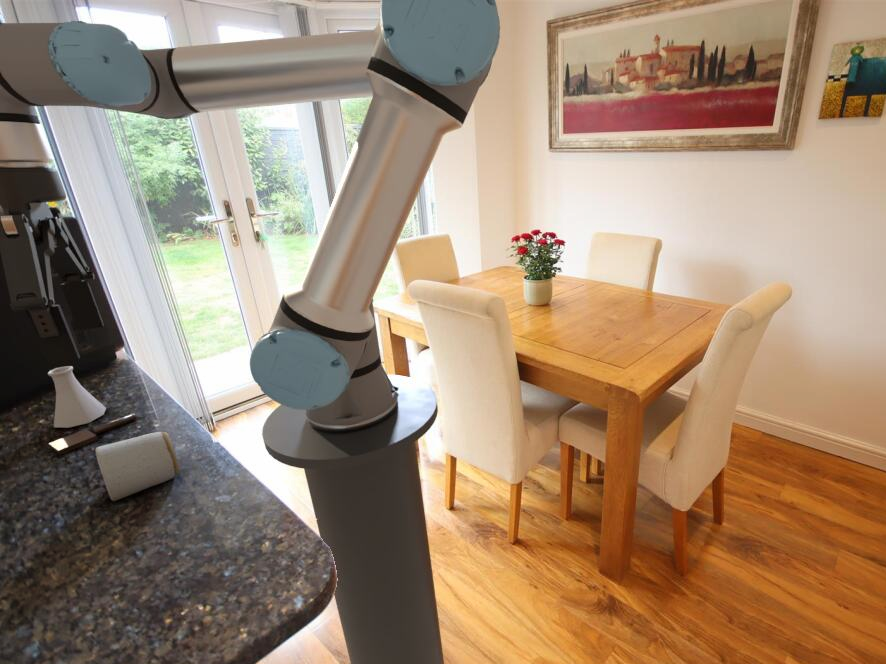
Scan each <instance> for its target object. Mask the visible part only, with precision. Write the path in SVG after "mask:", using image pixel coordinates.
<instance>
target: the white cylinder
mask: <svg viewBox="0 0 886 664" xmlns="http://www.w3.org/2000/svg"><path fill="white" fill-rule="evenodd" d="M95 456H96V460H97V464H98V466H99V470H100V473H101V475H102V476H101V477H102V478H103V482H104V484H105V487H106V490H107V493H108V496H109V498H110V500H111V501H112V502H116V501H118V500H121V499H124V498H127V497H129V496H131V495H134V494H137V493H140V492H142V491H144V490H146V489H149V488H152V487H154V486H157V485H159V484H162V483H165V482H167V481H170V480H171V479H173V478H175V477H176V476H178V475H179V473H180V471H181V468H180V464H179V460H178V457H177V454H176V451H175V448H174V446H173V442H172V440H171V437H170V435H169V434H168V433H167V432H166V431H155V432H151V433H146V434H143V435H139V436H136V437H132V438H127V439H124V440H120V441H116V442H112V443H107V444H103V445H101V446H97V447H96V448H95Z"/></svg>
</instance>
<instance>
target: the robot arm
mask: <svg viewBox="0 0 886 664" xmlns="http://www.w3.org/2000/svg"><path fill="white" fill-rule="evenodd" d="M500 22H501V21H500V16H499V11H498V6H497V2H496V0H380V6H379V22H378V23H377V24H376V26H375V27H374V29H369V30H367V29H366V30H357V31H344V32H334V33H333V32H332V33H323V34H312V35H311V34H310V35H300V36H299V35H298V36H289V37H277V38H267V39H255V40H254V39H253V40H244V41H232V42H221V43H212V44H211V43H209V44H198V45H189V46H188V45H187V46H186V45H185V46H177V47H167V48H155V49H141V48H139V47H138V45H137V44H136V43H135V42H134V41H133V40H131V39H129V36H128V35H127V34H126V32H124V31H122V30H121V29H120V28H118V27H115V26H113V25H110V24H105V23H87V22H85V21H83V20H70V21H64V22H7V23H6V22H5V21H4V18H3V16H2V14H0V208H1V209H2V214H1V215H0V257H1V261H2V267H3V272H4V275H5V280H6V285H7V290H8V295H9V299H10V303H9V307H10V309H11V310H12V312H14V313H16V312H25V314H26V316H27V318H28V321H29V323H30V325H31V328H32V330H33V332H34V335H35V337H36V340H37V342H38V345H39V346H40V348H41V351H42V353H43V356H44V358H45V361H46V363H47V365H52V364H59V363H64V362H65V363H66V362H70V361H76V360H79V359H80V358H81V355H80V353H79V350H78V348H77V345H76V342H75V339H74V338H73V334H72V332H71V330H70V327H69V325H68V322H67V320H66V317H65V315H64V312H63V309H62V307H61V304H56V300H55V295H54V287H53V286H54V285H53V277H52V269H53V270H54V272H55V273H56V274H57V276H58V277H59V278H60V279H61V281H62V282H63V283H61V284H60V287H61V290H62V292H63V295H64V298H65V300H66V302H67V304H68V308H69V310H70V313H71V316H72V318H73V321H74V323H75V326H76V328H77V331H84V330H91V329H99V328H103V327H105V323H104V320H103V318H102V315H101V312H100V310H99V306H98V304H97V301H96V299H95V296H94V293H93V291H92V287H91V285H90V283H89V280H95V278H96V276H95V273H94V271H93V270H92V271H91V270H90V267H89V266H88V264H87V263H86V261H85V259H84V257H83V255H82V253H81V251H80V249H79V247H78V246H77V244H76V242H75V240H74V238H73V236H72V234H71V232H70V230H69V228H68V226H67V224H66V222H65V220H64V218H63V215H62V211H61V209H60V208H59V207H58V206H49V205H48V204H47V203H54V202H62V201H65V200H66V198H67V194H66V191H65V188H64V186H63V181H62V180H61V176H60V174H59V171H58V170H56V169H55V168H54V167H51V166H50V164H49V163H52V162H53V161H54V160H55V157H54V155H53V153H52V150H51V146H50V145H49V142H48V139H47V137H46V134H45V131H44V128H43V125H42V124H41V121H40V119H39V115H38V112H37V109H36V107H91V108H97V109H105V110H111V111H117V112H125V113H131V114H132V113H133V114H137V115H143V116H144V115H145V116H149V117H155V118H158V119H162V120H180V119H185V118H189V117H191V116H192V115H194V114H199V113H200V114H201V113H206V112H219V111H228V110H229V111H230V110H239V109H251V108H262V107H272V106H273V107H274V106H282V105H295V104H304V103H305V104H306V103H316V102H326V101H338V100H350V99H359V98H370V97H371V100H370V103H369V106H368V107H367V108H368V109H367V111H366V113H365V116H364V118H363V121H362V123H361V127H360V129H359V132H358V135H357V137H356V140H355V141H354V145H353V147H352V150H351V153H350V156H349V158H348V161H347V164H346V165H345V169H344V171H343V174H342V177H341V179H340V182H339V185H338V187H337V190H336V193H335V194H334V195H335V196H334V198H333V201H332V203H331V206H330V208H329V211H328V214H327V216H326V219H325V221H324V224H323V227H322V230H321V231H320V234H319V237H318V240H317V243H316V245H315V248H314V250H313V253H312V255H311V258H310V261H309V264H308V266H307V269H306V271H305V274H304V277H303V280H302V282H299V283H297V284H293V285H290V286H288V287H287V288H285V290H284V291H283V294H282V297H281V299H280V302H279V305H278V307H277V310H276V313H275V315H274V318H273V321H272V323H271V326H270V328H269V330H268V332H266V333H264V334H263V335H262V336H260V338H258V341H256V343H255V345H254V347H253V349H252V351H251V354H250V357H249V369H250V374H251V376H252V378H253V381H254V382H255V383H256V384H257V385H258V386H259V388H260V390H261V392H262V393H263V394H264V395H265V396H267V397H268V398H269V399H271V400H272V401H274V402H275V403H277V404H279V405H284V406H286V407H290V408H294V409H300V410H306V412H305V413H306V417H307V422H308V424H309V426H310V427H312V428H313V429H315V430H317V431H320V432H324V433H333V434H340V433H350V432H356V431H360V430H364V429H367V428H370V427H373V426H375V425H377V424H379V423H381V422H383V421H385V420H386V419H388V418H389V417H390V416H391V415H392V414H393V413H394V412H395V411H396V409H397V407H398V399H397V393H396V391H398V388H397V387H395V386H393V385H392V383H391V381H390V379H389V377H388V376H387V374H388V373H387V372H386V370H385V369H384V367H383V364H382V357H381V351H380V343H379V337H378V330H377V324H376V317H375V310H374V296H375V295H376V293H377V289H378V288H379V285H380V283H381V280H382V278H383V275H384V273H385V271H386V269H387V268H388V267H387V266H388V265H389V262H390V259H391V257H392V255H393V252H394V251H395V248H396V245H398V241H399V239H400V237H401V234H402V232H403V230H404V227H405V225H406V223H407V221H408V218H409V216H410V214H411V212H412V209H413V208H414V207H413V206H414V204H415V202H416V201H417V197H418V195H419V192H420V191H421V188H422V187H423V183H424V181H425V179H426V177H427V175H428V172H429V170H430V167H431V165H432V162H433V160H434V158H435V156H436V154H437V151H438V149H439V146H440V144H441V142H442V140H443V138H444V136H445V135H446V134H448V133H451V132H453V131H457V130H458V129H461V128H463V125H464V123H465V121H466V119H467V117H468V114H469V113H470V110H471V108H472V106H473V103H474V101H475V99H476V97H477V94H478V91H479V90H480V88H481V87H482V85H483V84H484V82H485V81H486V79H487V78H488V76H489V74H490V71H491V68H492V63H493V59H494V57H495V55H496V52H497V50H498V46H499V43H500V38H501V35H500V34H501V33H500V32H501V31H500V30H501V23H500ZM51 268H52V269H51Z"/></svg>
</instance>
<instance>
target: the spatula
mask: <svg viewBox="0 0 886 664" xmlns="http://www.w3.org/2000/svg"><path fill="white" fill-rule="evenodd" d="M137 417H138V416H137V414H136V413H130V414H128V415H125V416H123V417H119V418H117V419H114V420H112V421H109V422H106V423H104V424H102V425H99V426H97V427H95V428H94V429H93V432H94V433H93V432H91V431H90V430H88V429H86V428H85V429H82V430H80V431H77V432H74V433H72V434H69V435H67V436H65V437H62V438H59V439H56V440H54V441H51V442H49V443H48V447H49V448H50V449H52V450H53V451H54V452H55V453H57V454H58V455H60V456H61V455H63V454H66V453H68V452H71V451H73V450H76V449H79V448H80V447H83V446H86V445H88V444H91V443H93V442H95V441H98V440H99V438H98V436H97V435H100V434H102V433H106V432H107V431H110V430H113V429H116V428H117V427H120V426H122V425H125V424H128V423H130V422H132V421H135V420H136V419H137ZM96 434H97V435H96Z"/></svg>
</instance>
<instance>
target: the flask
mask: <svg viewBox="0 0 886 664" xmlns="http://www.w3.org/2000/svg"><path fill="white" fill-rule="evenodd" d="M73 370H74V367H73V366H72V365H67V366H66V365H65V366H60V367H55V368H53V369H50V370H49V371H48V372H47V375H48V376H49V377H51V379H52V381H53V383H54V388H55V407H54V409H55V410H54V419H53V428H66V429H69V428H72V427H77V426H81V425H85V424H90V423H91V422H93V421H95V420H96V419H98V418H100V417H102V416H104V415H105V412H106V410H107V407H106V406H105V405H103V403H101V402H100V401H99V400H98V399H97V398H95V397H94V396H93V395H92V394H91V393H90V392H89V391H87V390H86V388H85V387H83V386H82V385H81V383H80V382H79V380H78V379H77V378H76V376H75V374H74V373H73Z"/></svg>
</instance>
